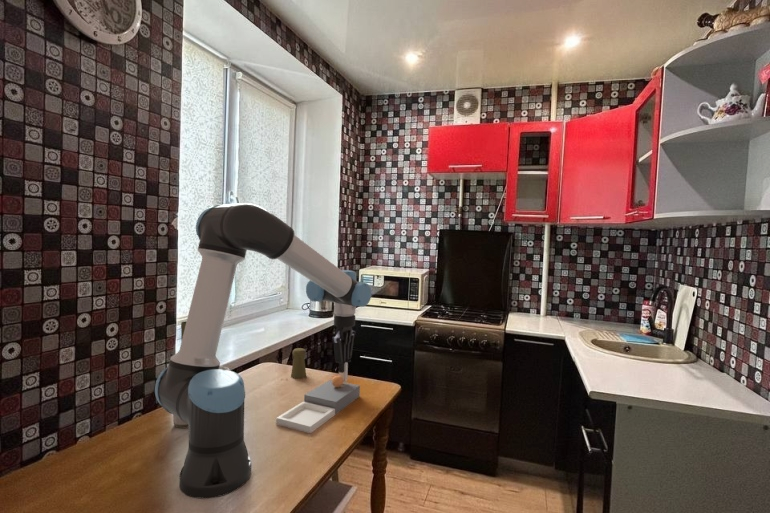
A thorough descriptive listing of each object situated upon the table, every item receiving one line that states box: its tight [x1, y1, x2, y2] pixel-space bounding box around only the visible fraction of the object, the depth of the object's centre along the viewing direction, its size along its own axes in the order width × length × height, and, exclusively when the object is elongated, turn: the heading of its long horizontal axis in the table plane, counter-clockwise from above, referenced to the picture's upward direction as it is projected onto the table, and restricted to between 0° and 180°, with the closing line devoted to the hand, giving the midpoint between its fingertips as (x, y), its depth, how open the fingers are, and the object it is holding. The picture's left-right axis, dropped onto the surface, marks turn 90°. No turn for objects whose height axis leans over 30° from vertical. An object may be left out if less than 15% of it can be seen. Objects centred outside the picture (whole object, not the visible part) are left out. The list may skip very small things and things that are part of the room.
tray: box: [275, 400, 336, 434], centre depth 122 cm, size 14×12×2 cm
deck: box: [303, 379, 361, 415], centre depth 136 cm, size 16×12×4 cm
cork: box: [290, 347, 307, 380], centre depth 160 cm, size 6×6×11 cm
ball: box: [331, 374, 344, 387], centre depth 139 cm, size 4×4×4 cm
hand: (342, 380), depth 142 cm, fingers closed
